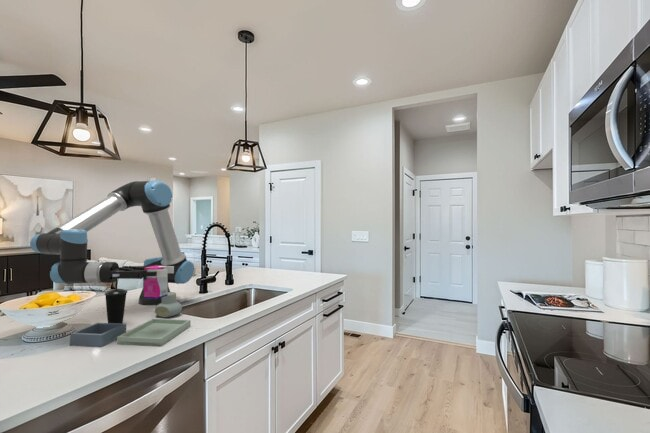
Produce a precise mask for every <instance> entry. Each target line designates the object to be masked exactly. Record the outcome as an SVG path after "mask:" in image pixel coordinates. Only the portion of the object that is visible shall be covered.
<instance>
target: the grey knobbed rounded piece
mask: <svg viewBox="0 0 650 433" xmlns="http://www.w3.org/2000/svg"><path fill="white" fill-rule="evenodd" d="M155 306H156V307H155V308H154V313H155V314H156V315H157V316H159V317H161V318H162V319H167V318H172V317H174V316H176V315H178V314H180V312H181V311H182V309H183V305H182V304H181V303H180V302H178V301H177V292H175V291H170V292H168V296H165V297H162V300H161V303H160V304H156V305H155Z"/></svg>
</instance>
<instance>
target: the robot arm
mask: <svg viewBox="0 0 650 433" xmlns="http://www.w3.org/2000/svg"><path fill="white" fill-rule="evenodd" d="M172 198H173V192H172V190H171V188H170V186H169V185H168V184H167V183H165V182H164V181H162V180H161V181H160V180H141V181H139V180H137V181H131V182H128V183H126V184H123V185H122V186H120V187H118V188H116V189H114V190H112V191H110V192H109V193H108V194H107V196H106V198H104V199H102V200H100V201H99V202H97V203H95V204H94V205H92V206H90V207H89V208H87V209H85V210H84V211H82V212H80V213H78V214H77V215H75V216H73V217H72V218H70V219H69V220H66V222H64V223H61V224H60V225H58V226H56V227H54V228H53V229H51V230H50V231H48V232H43V233H38V234H35V235H34V236H33V237H32V238H31V239H30V241H29V246H30V249H31V250H32V251H33V252H35V253H38V254H42V255H57V256H58V255H59V260H60V261H59V262H56V263H54V264H53V265H52V266H51V267H50V271H49V277H50V280H51V281H52V282H53V283H55V284H65V285H66V284H67V285H69V284H91V283H92V285H96V284H100V283H103V284H107V283H108V284H109V283H111V284H112V283H115V281H116V280H117V281H118V280H119V279H120V280H121V279H123V280H124V279H125V280H126V279H127V280H129V279H134V280H136V279H137V280H138V279H139V280H142V282H143V283H142V289H141V292H140V295H139V297H138V304H140V305H144V306H145V305H146V306H147V305H151V306H152V305H159V304H160V303H161V300H162V297H161V298H159V299H149V298H144V280H146V279H147V278H150V277H167V281H168V284H169V283H170V284H177V285H181V284H187V283H188V282H190V280H191V279H192V277H193V276H194V272H195V265H194V262H192V261H190V260H187V256H186V254H184V253H183V252H181V248H180V245H179V242H178V239H177V235H176V232H175V229H174V226H173V222H172V219H171V217H170V213H169V208H170V207H171V202H172V200H173V199H172ZM133 207H141V210H142V212H143V213H144V214H146V215H147V216H148V218H149V222H150V225H151V228H152V230H153V233H154V234H153V235H154V236H155V239H156V242H157V244H158V248H159V250H160V254H161V256H159V257H157V256H156V257H152V258H150V257H149V258H146V259H145V260H144V261H143V265H136V266H135V265H129V266H127V265H124V266H119V264H118V263H117V262H116V261H89V262H88V258H87V257H88V256H87V254H88V241H89V240H88V232H90V231H91V230H93V229H94V228H96V227H97V226H99V225H101V224H102V223H103V222H105V221H106V220H108V219H110V218H111V217H112V216H114V215H115V214H117V213H118V212H123V211H126V210H127V209H129V208H133ZM151 266H167V270H147V271H146V270H144V268H146V267H151ZM168 292H171V290H170V287H169V286H168Z"/></svg>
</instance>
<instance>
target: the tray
mask: <svg viewBox="0 0 650 433" xmlns="http://www.w3.org/2000/svg"><path fill="white" fill-rule="evenodd" d="M191 320H192V319H173V318H169V319H168V318H151V319H150V320H148V321H146V322H143V323H142V324H140V325H138V326H136V327H134V328H132V329H130V330H127V331H126V333H124V334H122V335H120V336H118V337H117V339H116V345H123V346H124V345H127V346H145V347H146V346H150V347H163V345H165V344H167V343H168V342H170V341H172V339H175V337H177V336H178V335H180V334H181V333H183V332H184V331H185V330H187V329H188V327H189V328H190V327H191V323H192V322H191Z"/></svg>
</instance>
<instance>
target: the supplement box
mask: <svg viewBox="0 0 650 433" xmlns="http://www.w3.org/2000/svg"><path fill="white" fill-rule="evenodd" d="M144 270H146V271H147V270H167V266H151V267H146V268H144ZM168 287H169V283H168V281H167V277H150V278H147V279H146V280H144V298H149V299H159V298H161V297H165V296H168Z"/></svg>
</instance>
